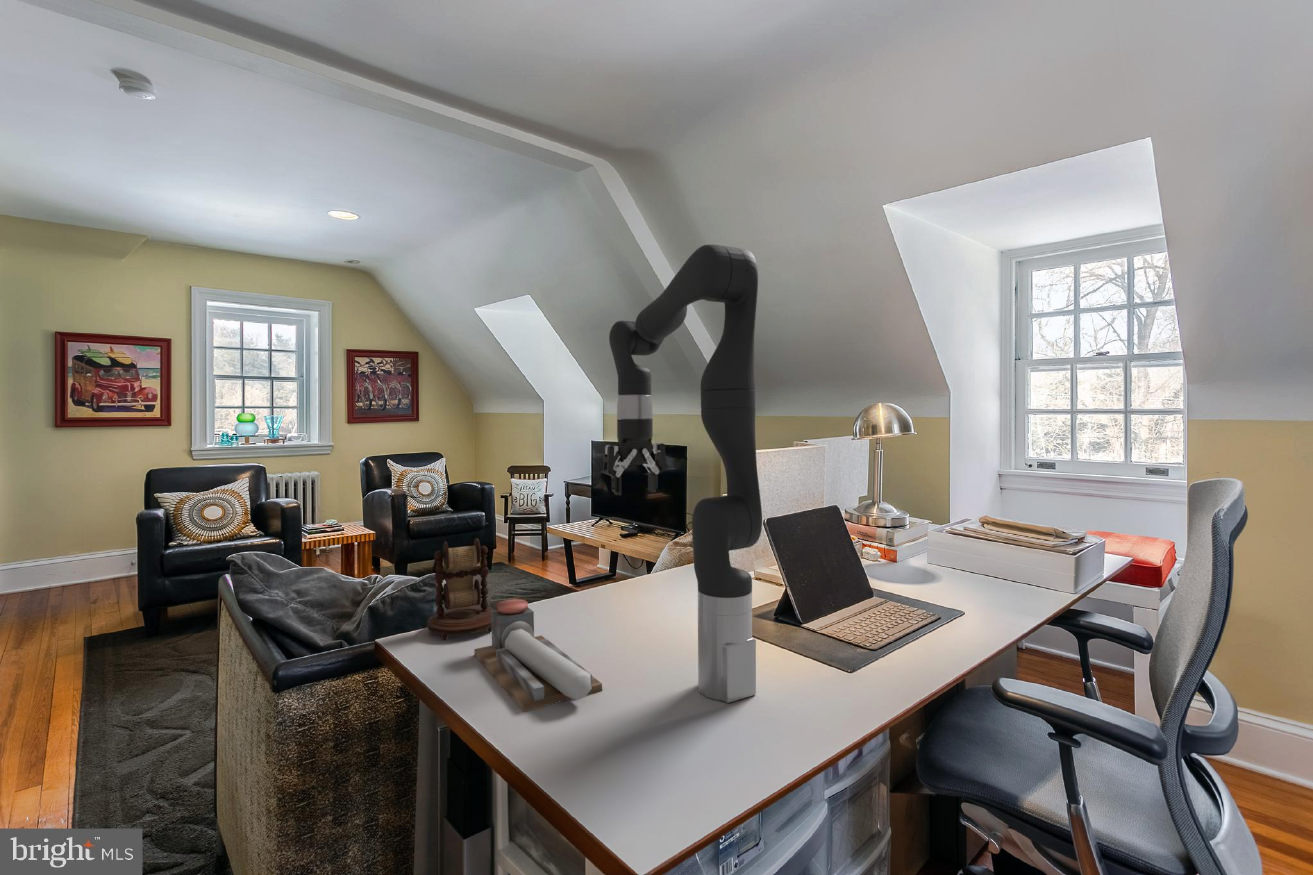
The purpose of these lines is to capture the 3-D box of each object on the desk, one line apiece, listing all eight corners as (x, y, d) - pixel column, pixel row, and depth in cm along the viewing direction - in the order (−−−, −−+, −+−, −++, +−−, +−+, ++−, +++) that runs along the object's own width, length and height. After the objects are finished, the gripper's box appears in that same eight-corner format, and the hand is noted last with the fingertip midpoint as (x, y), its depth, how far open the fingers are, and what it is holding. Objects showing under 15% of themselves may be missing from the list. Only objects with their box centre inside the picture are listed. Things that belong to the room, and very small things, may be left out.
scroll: (488, 615, 151) (486, 531, 150) (505, 634, 138) (503, 542, 137) (422, 625, 144) (420, 537, 143) (433, 646, 131) (431, 550, 130)
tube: (601, 673, 105) (533, 630, 125) (574, 670, 102) (508, 627, 122) (592, 706, 104) (525, 657, 124) (565, 704, 101) (500, 655, 121)
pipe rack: (602, 690, 110) (601, 634, 109) (523, 711, 103) (522, 651, 102) (540, 640, 134) (540, 594, 134) (473, 654, 127) (472, 605, 126)
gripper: (653, 416, 142) (653, 488, 143) (596, 416, 135) (597, 493, 135) (672, 416, 136) (672, 492, 137) (613, 417, 128) (614, 498, 129)
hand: (635, 493), depth 136 cm, fingers open, 8 cm apart
